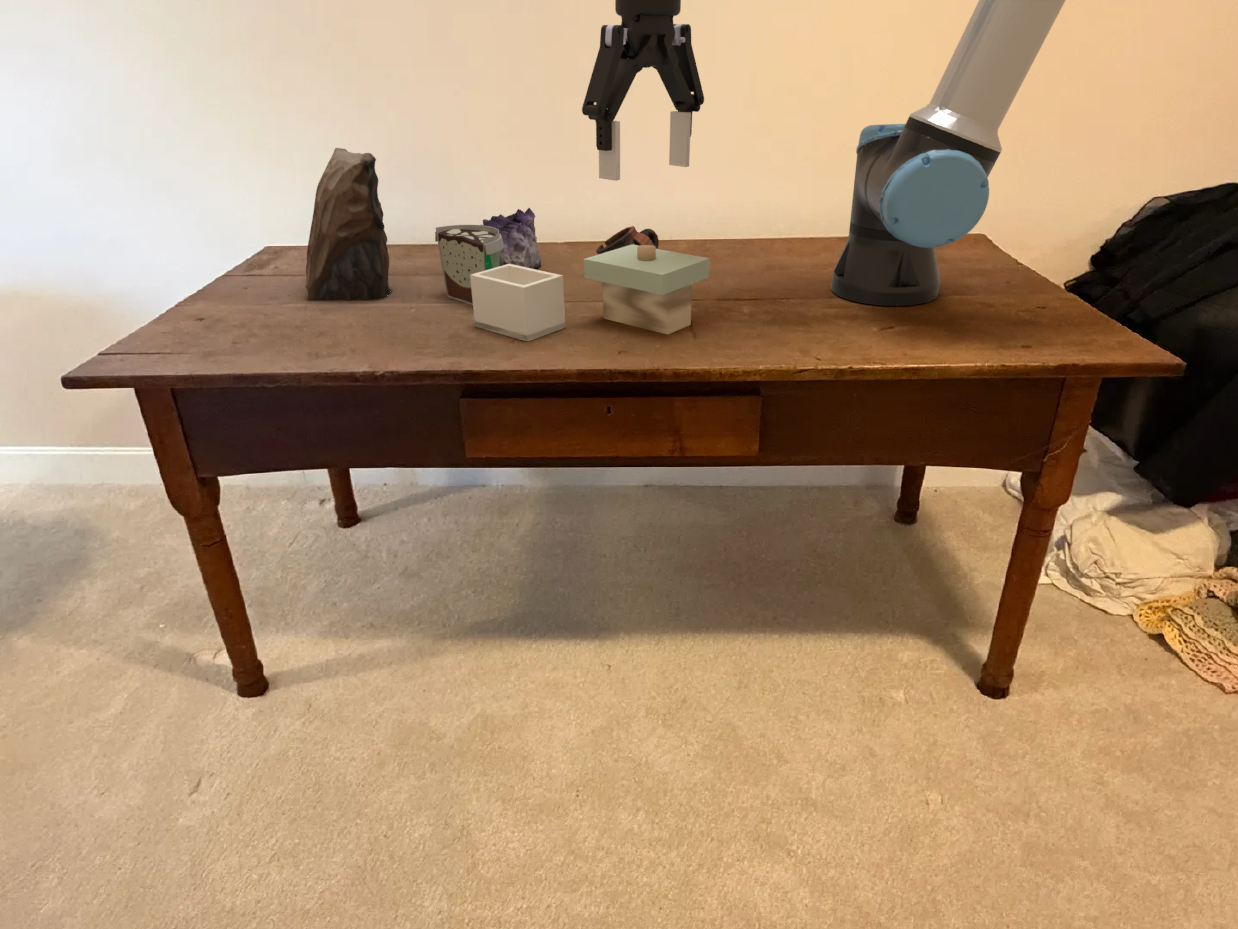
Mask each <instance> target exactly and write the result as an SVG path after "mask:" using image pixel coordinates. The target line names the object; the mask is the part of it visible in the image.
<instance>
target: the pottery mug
mask: <svg viewBox="0 0 1238 929" xmlns="http://www.w3.org/2000/svg"><path fill="white" fill-rule="evenodd" d="M604 243H605V246H604V245H603V244H600V245H599V246H598V247H597V248H596V250H595V253H596V255H599V254H602V253H605V252H609V251H612V250H615V249H618V248H622V247H625V246H628V245H632V244H633V245H638V246H640V245H653V246H656V249H659V243H660V242H659V236H658V234H657V233H656V231H655V230H654V229H652V228H644V229H643V230H641V231H637V229H636V227H635V226H634V225H631V226H629V227H625V228H624V229H621V230H619V231H618V232H616V233H615V234H613V235H612V236H611V237H609V238H608V239H606V240H605V241H604Z"/></svg>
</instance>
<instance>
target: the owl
mask: <svg viewBox="0 0 1238 929" xmlns="http://www.w3.org/2000/svg"><path fill="white" fill-rule="evenodd" d="M376 161H377V158H376V157H375V156H374V155H373V153H370V152H364V153H360V152H351V151H348V150H347V149H346V148H342V147H341V148H340V147H335V148H334V150H333V153H332V154H331V157H330V158H329V161H328V162H327V165H326V167H325V168H324V171H323V173H322V175H321V177H320V179H319V180H318V181H319V182H318V183H317V186H316V190H315V197H314V198H315V199H314V206H313V212H312V213H313V214H312V219H311V226H310V231H309V238H308V242H307V243H308V244H307V251H306V265H305V276H306V279H305V289H306V291H307V301H308V302H311V301H312V302H315V301H316V300H317V301H358V300H359V299H361V301H374V300H375V299H376V300H380V298H383V299H385V298H384V297H386V298H388V297H387V295H389V294H390V293H392V292H390V291H391V290H392V289H390V287H389V271H390V256H389V251H388V246H387V243H388V236H387V233H386V231H385V224H384V222H383V221H384V212H383V208H382V205H381V202H380V199H379V194H378V188H379V187H378V185H379V177H378V175H377V172H376V168H375V167H376ZM390 295H391V294H390ZM390 295H389V296H390ZM356 299H357V300H356ZM317 301H316V302H317ZM359 301H360V300H359Z"/></svg>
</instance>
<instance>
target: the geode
mask: <svg viewBox="0 0 1238 929" xmlns="http://www.w3.org/2000/svg"><path fill="white" fill-rule="evenodd" d="M535 218H536V214H535V213H534V211H533V210H532V209H531V208H530V207H528V208H527V209H526V210H525V211H523V210H522V209H520V208H518V209H517V210H516V211H515V212H514V213H512V214H509V215H507V216H504V215H503V214H501V213H500V214H498V216H497V215H496V216H495V215H492V216H491V217H490V219H482V225H483V226H490V227H494V228H496V229H498V230H499V234H501V236H502V239H503V243H504V248H503V249H502V250H500V266H503V265H506V264H513V265H517V266H522V267H527V268H531V269H536V268H540V267H541V265H542V259H541V256H540V254H539V253H540V251H539V249H538V248H539V247H538V242H537V239H538V237H537V236H536V227H535Z"/></svg>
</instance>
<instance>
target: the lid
mask: <svg viewBox="0 0 1238 929" xmlns="http://www.w3.org/2000/svg"><path fill="white" fill-rule="evenodd" d="M633 244H634V243H633ZM633 244H632V245H628V246H625V247H622V248H618V249H615V250H612V251H609V252H605V253H602V254H599V255H598V254H596V255H591V256H589V257H586V258H583V275H584V276H583V277H584V279H587V280H591V281H592V280H593V281H595V282H597V281H598V282H601V283H603V282H605V283H610V284H615V285H619V286H624V287H628V288H633V289H637V290H642V291H647V292H651V293H656V294H660V295H664V294H667V293H669V292H672V291H674V290H677V289H680V288H682V287H685V286H688V285H690V284H692V285H694V284H695V283H697V282H701V281H704V280H706V279H708V278H710V266H711V265H710V264H711V263H710V262H711V258H710V257H703V256H698V255H693V254H688V253H682V252H678V251H677V252H676V251H672V250H666V249H659V248H658V249H656V246H653V245H640V246H638V245H635V244H634V245H633Z"/></svg>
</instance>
